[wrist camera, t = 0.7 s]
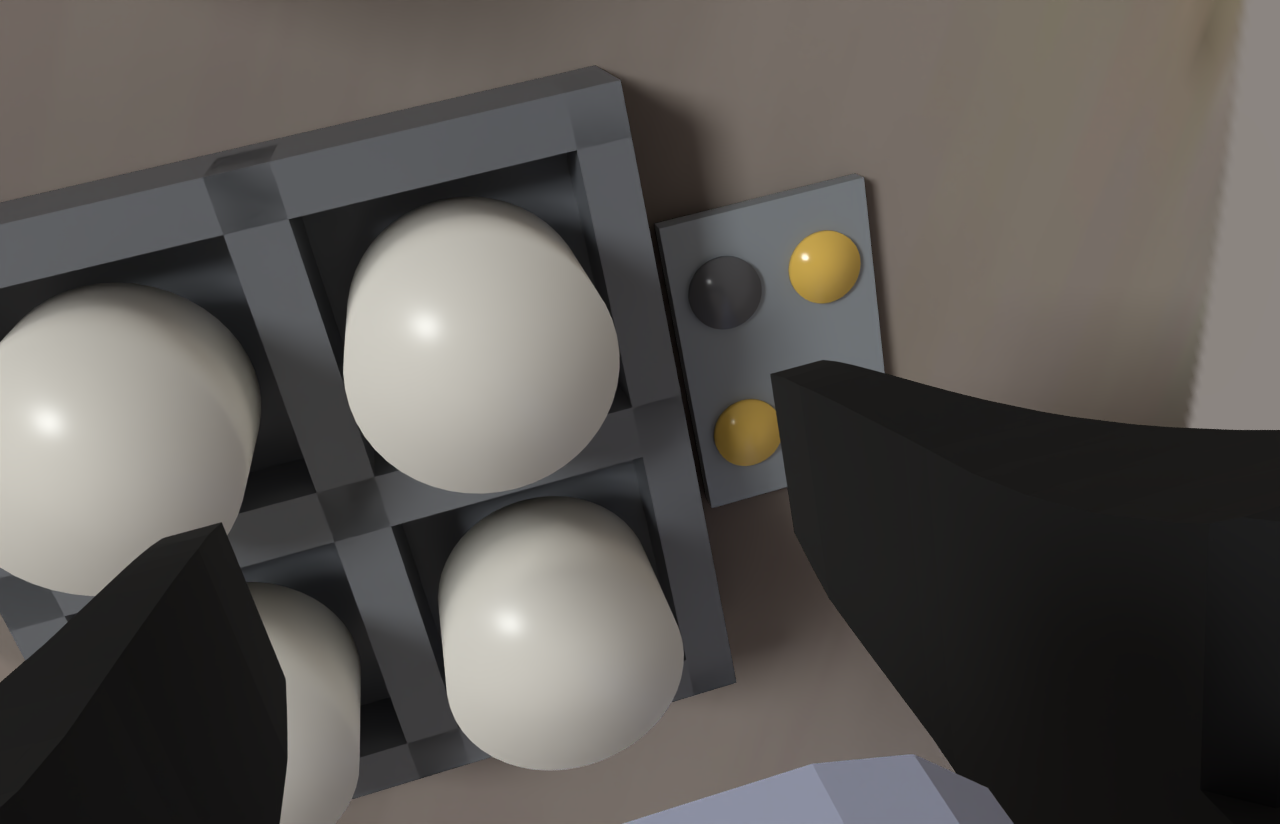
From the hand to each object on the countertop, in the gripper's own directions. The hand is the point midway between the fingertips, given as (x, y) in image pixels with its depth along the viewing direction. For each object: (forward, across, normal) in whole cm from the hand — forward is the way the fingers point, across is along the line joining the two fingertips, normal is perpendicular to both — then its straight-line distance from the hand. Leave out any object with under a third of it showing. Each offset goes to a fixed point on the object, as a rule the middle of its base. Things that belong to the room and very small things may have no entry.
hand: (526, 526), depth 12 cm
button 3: (+7, 0, 0) cm, 7 cm away
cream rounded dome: (+7, 0, +6) cm, 9 cm away
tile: (+9, -6, +3) cm, 11 cm away
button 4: (+7, +6, 0) cm, 9 cm away
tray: (+9, +3, +3) cm, 10 cm away
